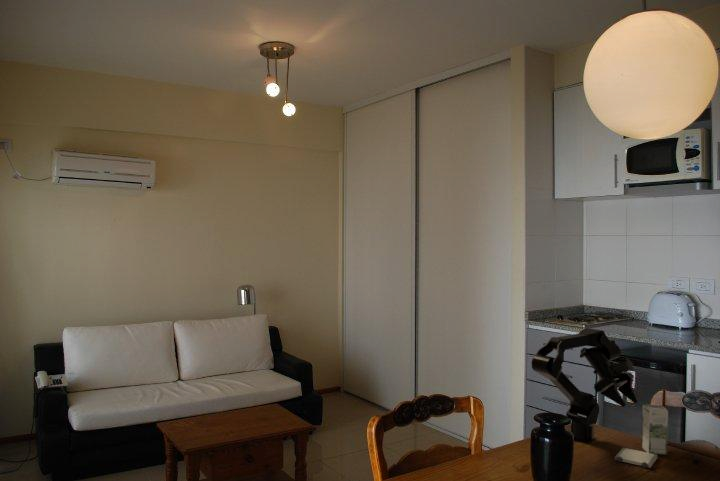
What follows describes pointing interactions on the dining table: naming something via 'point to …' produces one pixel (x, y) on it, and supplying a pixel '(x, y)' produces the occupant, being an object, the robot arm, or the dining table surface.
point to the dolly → (636, 457)
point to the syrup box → (655, 429)
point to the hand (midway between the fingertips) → (630, 404)
